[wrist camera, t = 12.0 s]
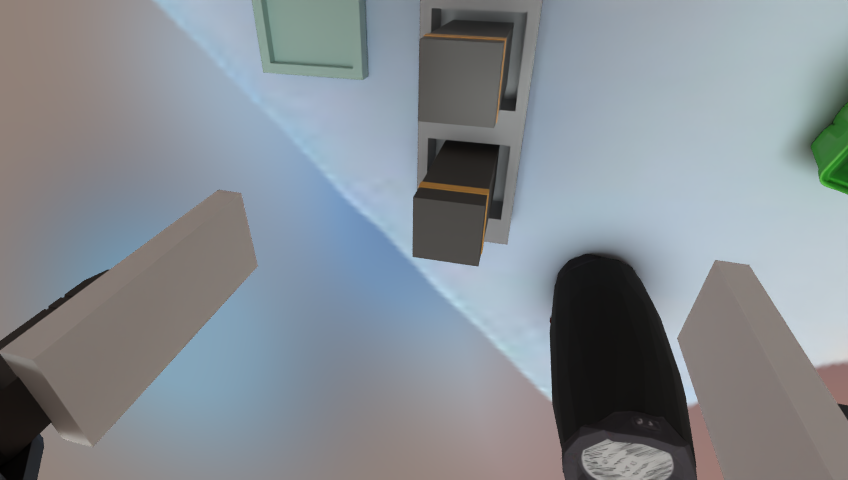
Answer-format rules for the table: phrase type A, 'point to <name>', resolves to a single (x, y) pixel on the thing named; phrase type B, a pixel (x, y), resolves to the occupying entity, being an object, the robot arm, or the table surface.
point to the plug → (455, 203)
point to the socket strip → (508, 106)
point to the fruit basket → (833, 153)
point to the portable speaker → (615, 378)
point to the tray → (312, 37)
